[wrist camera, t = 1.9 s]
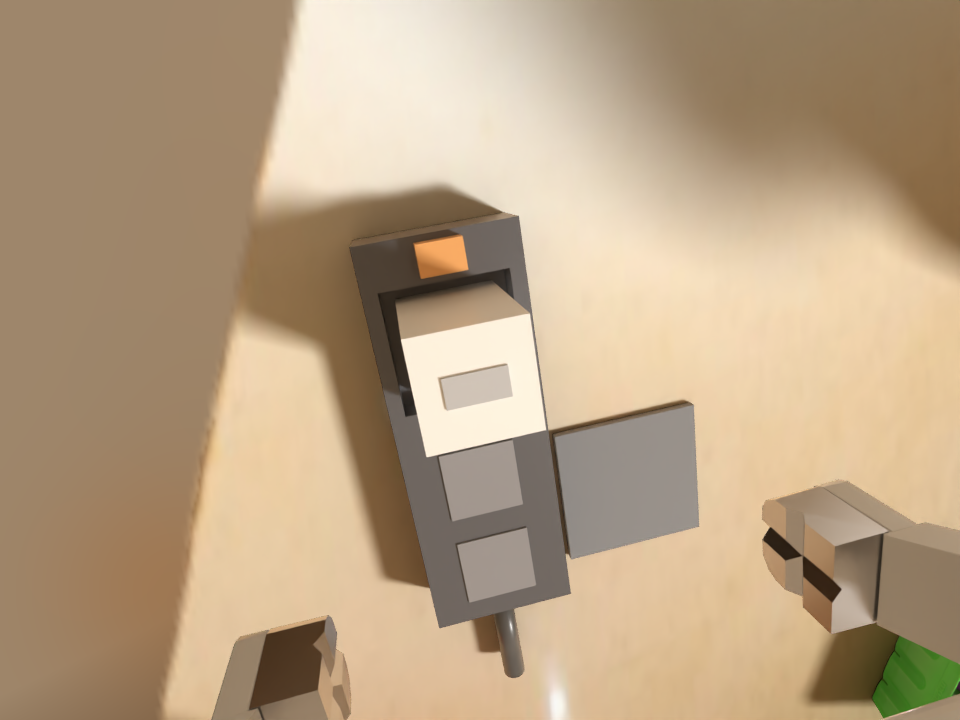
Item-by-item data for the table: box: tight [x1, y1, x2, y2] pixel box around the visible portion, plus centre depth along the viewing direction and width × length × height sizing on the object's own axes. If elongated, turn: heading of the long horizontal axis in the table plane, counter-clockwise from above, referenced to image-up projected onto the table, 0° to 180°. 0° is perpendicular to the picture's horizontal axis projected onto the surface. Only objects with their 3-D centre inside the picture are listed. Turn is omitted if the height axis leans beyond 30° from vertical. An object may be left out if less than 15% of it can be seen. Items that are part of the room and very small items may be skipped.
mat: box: [553, 402, 699, 559], centre depth 32 cm, size 8×8×1 cm
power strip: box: [349, 212, 571, 678], centre depth 29 cm, size 7×26×4 cm, turn 10°
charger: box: [395, 280, 546, 457], centre depth 23 cm, size 4×4×7 cm
